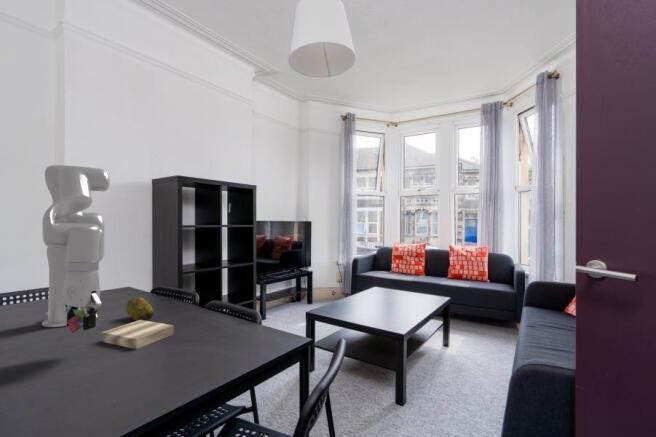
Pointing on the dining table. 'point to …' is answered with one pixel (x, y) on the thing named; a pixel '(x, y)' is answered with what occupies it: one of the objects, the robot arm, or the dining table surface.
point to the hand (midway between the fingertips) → (81, 326)
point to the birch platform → (137, 334)
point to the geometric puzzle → (77, 320)
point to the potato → (139, 309)
